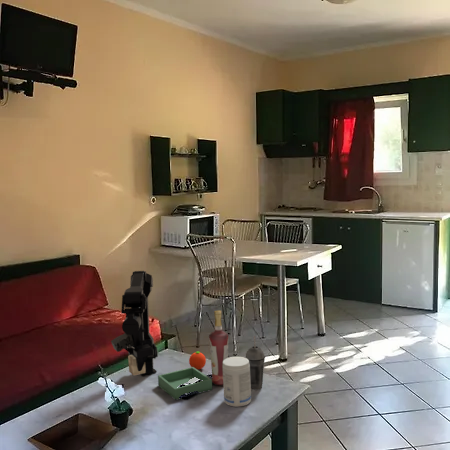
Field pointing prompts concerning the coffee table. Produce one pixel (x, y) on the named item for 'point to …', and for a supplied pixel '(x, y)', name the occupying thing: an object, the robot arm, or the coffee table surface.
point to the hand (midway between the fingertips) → (137, 368)
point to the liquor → (218, 349)
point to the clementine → (197, 360)
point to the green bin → (177, 378)
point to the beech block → (134, 366)
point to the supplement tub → (236, 381)
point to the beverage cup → (256, 366)
